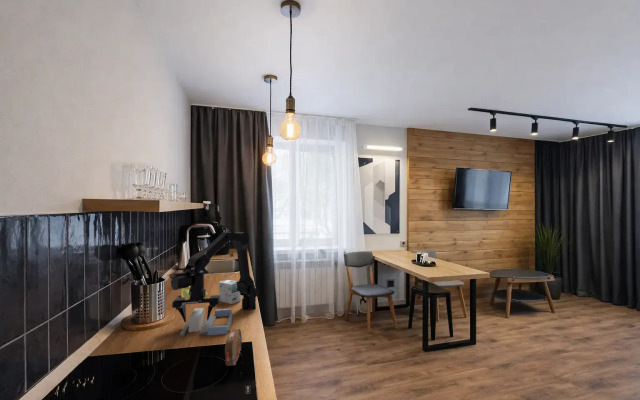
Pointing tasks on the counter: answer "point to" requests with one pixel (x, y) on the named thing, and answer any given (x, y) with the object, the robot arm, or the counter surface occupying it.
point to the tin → (233, 347)
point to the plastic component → (187, 293)
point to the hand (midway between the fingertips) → (196, 321)
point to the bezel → (219, 329)
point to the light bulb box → (229, 292)
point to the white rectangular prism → (196, 320)
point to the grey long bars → (207, 325)
